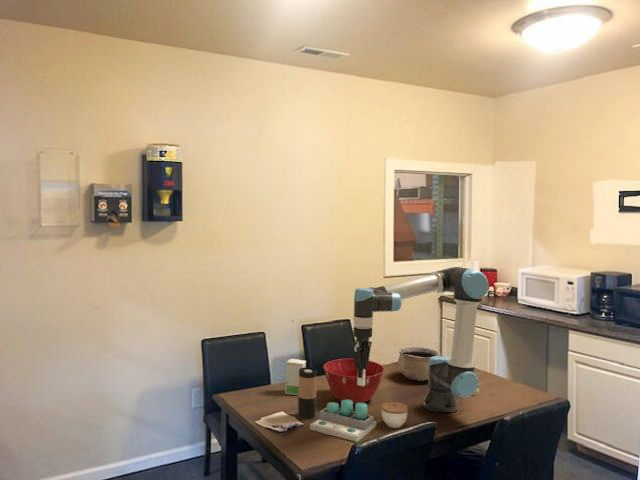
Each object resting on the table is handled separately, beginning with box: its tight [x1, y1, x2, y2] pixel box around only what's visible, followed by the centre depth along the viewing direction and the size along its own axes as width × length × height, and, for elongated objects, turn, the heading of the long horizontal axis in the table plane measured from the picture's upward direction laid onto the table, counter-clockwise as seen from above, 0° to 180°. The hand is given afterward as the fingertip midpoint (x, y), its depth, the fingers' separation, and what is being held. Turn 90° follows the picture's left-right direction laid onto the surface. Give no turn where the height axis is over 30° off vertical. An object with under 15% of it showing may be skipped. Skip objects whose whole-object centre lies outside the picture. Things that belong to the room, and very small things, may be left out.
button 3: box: [326, 401, 340, 414], centre depth 221 cm, size 5×5×5 cm
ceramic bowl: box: [397, 346, 441, 382], centre depth 283 cm, size 22×22×15 cm
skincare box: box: [284, 358, 307, 396], centre depth 256 cm, size 8×7×16 cm
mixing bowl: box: [322, 358, 385, 405], centre depth 249 cm, size 28×28×16 cm
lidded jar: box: [381, 401, 408, 429], centre depth 220 cm, size 11×11×9 cm
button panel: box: [309, 406, 377, 443], centre depth 215 cm, size 21×18×5 cm
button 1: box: [354, 402, 368, 419], centre depth 214 cm, size 5×5×5 cm
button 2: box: [340, 400, 354, 416], centre depth 217 cm, size 5×5×5 cm
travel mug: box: [297, 366, 318, 420], centre depth 227 cm, size 8×8×20 cm
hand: (361, 384), depth 214 cm, fingers closed
